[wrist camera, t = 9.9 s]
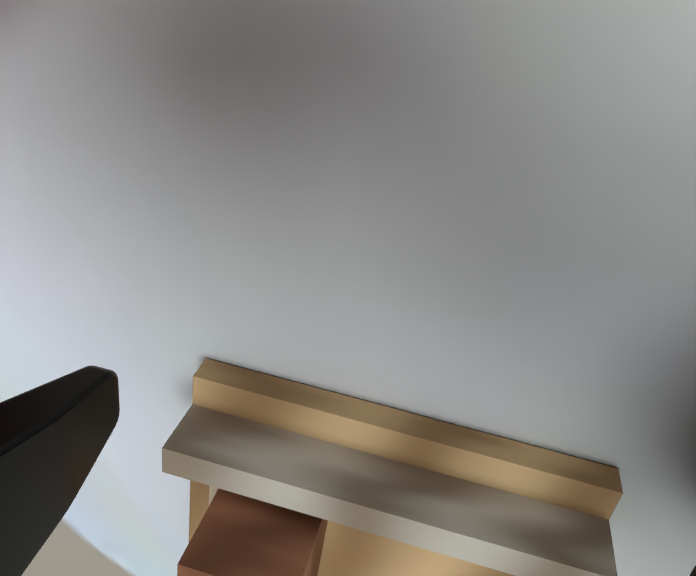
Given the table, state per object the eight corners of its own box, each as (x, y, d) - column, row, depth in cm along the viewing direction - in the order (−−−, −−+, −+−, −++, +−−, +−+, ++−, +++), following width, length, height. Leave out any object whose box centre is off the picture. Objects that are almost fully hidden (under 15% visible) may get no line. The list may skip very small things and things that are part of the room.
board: (618, 468, 23) (633, 552, 20) (515, 670, 30) (515, 757, 27) (206, 358, 25) (161, 418, 22) (198, 571, 32) (163, 641, 29)
